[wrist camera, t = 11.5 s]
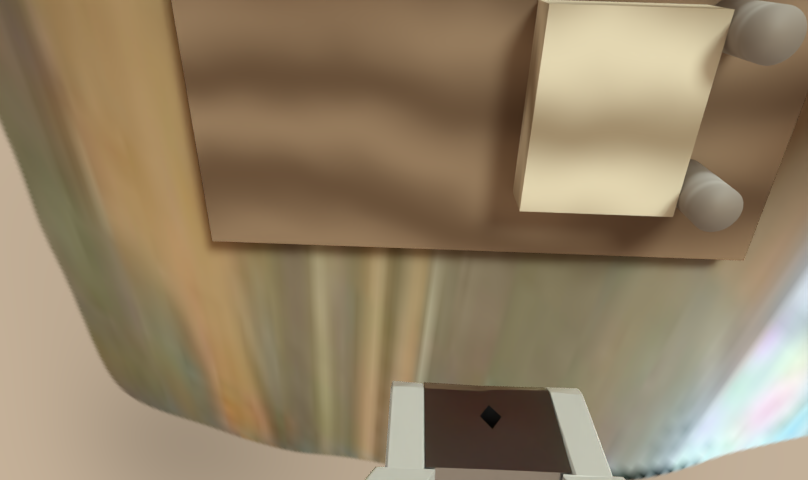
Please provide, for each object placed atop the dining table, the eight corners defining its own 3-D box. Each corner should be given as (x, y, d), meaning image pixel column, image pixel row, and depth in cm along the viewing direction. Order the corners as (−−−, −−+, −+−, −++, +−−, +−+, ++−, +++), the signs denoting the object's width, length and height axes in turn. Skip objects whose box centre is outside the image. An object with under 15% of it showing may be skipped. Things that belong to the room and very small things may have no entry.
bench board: (166, -109, 25) (104, -124, 20) (854, -93, 24) (961, -105, 20) (220, 229, 34) (186, 276, 29) (730, 248, 33) (783, 298, 28)
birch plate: (538, -1, 25) (549, 3, 23) (707, 4, 25) (734, 9, 23) (512, 192, 30) (519, 211, 28) (654, 197, 30) (672, 217, 28)
